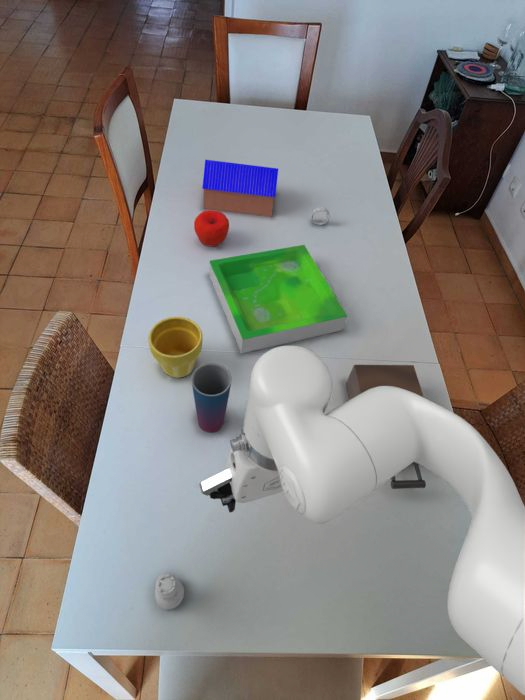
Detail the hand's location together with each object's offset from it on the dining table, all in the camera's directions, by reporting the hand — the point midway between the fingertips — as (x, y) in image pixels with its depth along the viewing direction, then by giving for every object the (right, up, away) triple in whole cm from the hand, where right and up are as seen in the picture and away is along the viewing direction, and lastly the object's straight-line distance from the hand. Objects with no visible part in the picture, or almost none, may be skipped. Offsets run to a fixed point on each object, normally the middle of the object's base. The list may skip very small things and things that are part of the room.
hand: (261, 490), depth 63 cm
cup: (-10, +6, +26) cm, 28 cm away
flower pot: (-18, +16, +33) cm, 41 cm away
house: (-7, +63, +70) cm, 94 cm away
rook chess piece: (-14, -18, +7) cm, 24 cm away
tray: (+3, +31, +47) cm, 56 cm away
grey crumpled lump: (+16, +56, +67) cm, 89 cm away
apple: (-13, +48, +58) cm, 76 cm away
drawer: (+25, +2, +26) cm, 36 cm away
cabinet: (+25, +6, +30) cm, 39 cm away
